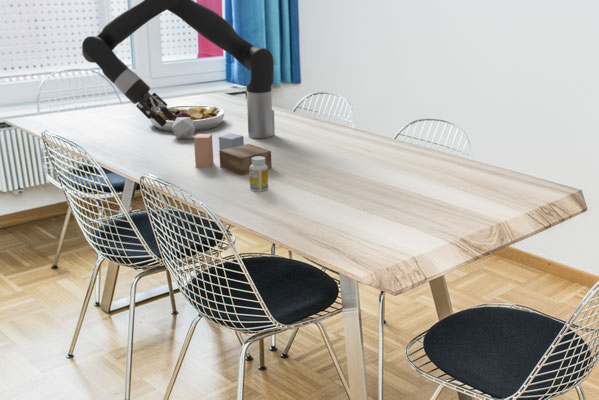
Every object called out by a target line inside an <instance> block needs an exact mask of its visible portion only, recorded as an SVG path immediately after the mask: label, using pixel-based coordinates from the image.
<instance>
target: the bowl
mask: <svg viewBox="0 0 599 400" xmlns="http://www.w3.org/2000/svg"><path fill="white" fill-rule="evenodd" d="M167 109H168V110H169V111H170V112H172V113H173V114H174V116H175V117H174V118H173V119H172V120H169V119H168V118H167V117H166V116H165V115H164V114H163V113H162V112H160V111H158V110H157V112H158V114H159V115H160V116H161V117H163V118H164V119H165V120H166V122H167V123H166V124H165V125H164V126H161V125H159V124H158V123H157V122H156V121H155V120H154V119H152V118H150V119H149V120H150V123H151V125H153V126H154V127H155V128H157V129H158V130H163V131H168V132H173V130H172V126H173V124H174V122H175V120H176V118H177V117H190V118H191V120H192V122H193V125H194V127H195V131H194V132H197V131H205V130H208V129H212V128H214V127H217V126H218V125H220V124H221V123H222V122H223V120H224V118H225V111H224V109H222V108H220V107H217V106H212V105H201V104H195V105H194V104H193V105H192V104H191V105H189V104H188V105H186V104H185V105H175V106H167ZM158 114H157V115H158Z"/></svg>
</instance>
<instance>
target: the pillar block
mask: <svg viewBox="0 0 599 400" xmlns="http://www.w3.org/2000/svg"><path fill="white" fill-rule="evenodd" d="M193 144H194V145H193V146H194V158H195V159H194V161H195V168H211V167H212V165H214V148H213V145H214V144H213V134H212V133H197V134H196V135H194V136H193Z"/></svg>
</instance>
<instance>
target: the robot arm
mask: <svg viewBox="0 0 599 400" xmlns="http://www.w3.org/2000/svg"><path fill="white" fill-rule="evenodd" d="M165 11H169V12H170V13H172V14H174V15H175V16H177V17H178V18H179V19H181V20H182V21H183V22H184V23H186V24H187V25H188V26H189V27H191V29H193V30H194V31H195V32H197V33H198V34H200V35H201V36H202V37H204V38H205V40H207V41H209V42H210V43H212V44H214V45H215V46H216V47H218V48H220V49H221V50H223V51H225V52H226V53H228V54H230V55H231V56H232V57H233V58H234V59H235V60H236V61H238V63H240V64H241V65H242V66H243V67H244V68H245V69H247V70H248V71H249V72H250V81H248V82H247V84H246V106H247V107H246V109H247V129H248V130H247V133H248V134H247V136H248V137H250V138H252V139H267V138H271V137H273V136H275V135H276V133H275V132H276V129H275V126H276V125H275V110H274V109H273V100H272V86H273V83H274V71H275V70H274V67H275V66H274V56H273V54H272V52H271V51H270V50H269V49H268V48H264V47H262V46H261V47H260V46H256V45H254V44H252V43H251V42H248V40H245V39H244V38H243V37H241V36H240V35H239V34H238V33H237V32H236V30H235V28H233V26H232V25H231V23H229V21H227V20H226V19H225V18H224V17H222V16H221V15H220V14H218V13H217V12H216V11H214V10H212V9H210V8H209V7H206V6H204V5H202V4H200V3H199V2H197V1H194V0H142V1H141V2H139V3H138V4H136V5H133V6H132V7H130V8H129V9H126V10H125V11H123V12H122V13H120V14H119V15H117V16H116V17H115V18H113V19H112V20H111V21H110V22H108V23H107V24H105V26H104V27H103V29H102V31H101V32H99V34H97V35H90V36H87V37H85V38H84V39H83V41H82V45H81V49H82V50H81V53H82V56H83V57H84V59H85V60H86V61H88V62H89V63H91V64H92V63H93V64H94V63H95V64H96V65H97V66H98V67H99V68H100V69H101V71H102V73H103V74H104V76H105V77H106V78H107V79H108V80H109V81H110V82H111V83H113V84H114V85H115V87H116V88H117V89H118V90H119V91H120V92H121V94H122V95H124V96H125V97H126V98H127V99H128V100H129V101H130V102H131V103H132V104H133V105H135V106H136V108H137V109H138V110H139V111H140V112H141V113H142V115H144V116H145V117H146V118H147V119H149V120H150V118H152V119H154V120H155V121H156V122H157V123H158V124H159V125H161V126H164V125H165V124H166V123H167V122H166V120H165V119H164V118H163V117H161V116H160V115H159V114H158V112H157V110H158V111H160V112H162V113H163V114H164V115H165V116H166V117H167V118H168V119H169V120H172V119H173V118H174V117H175V116H174V114H173V113H172V112H170V111H169V110H168V109H167V107H168V104H167V102H165V100H163V98H162V97H160V96H159V95H158V93H156V92H153V93H150V92H149V91H150V90H151V87H150V85H148V84H147V83H146V82H145V81H144V80H143V79H142V78H141V77H140V76H139V75H138V74H137V73H136V72H135V71H133V70H132V69H131V68H129V66H127V65H126V64H125V62H123V61H122V60H121V59H120V58H119V57H117V55H116V54H115V52H114V51H113V50H114V49H115V48H117V46H118V45H120V44H121V43H123V42H124V41H125V40H126V39H127V38H129V37H130V36H131V35H133V34H134V33H135V32H136V31H138V30H139V29H140V28H142V27H143V26H144V25H145V24H147V23H148V22H150V20H153V19H154V18H156V16H158V15H161V14H162V13H163V12H165ZM157 114H158V115H157Z"/></svg>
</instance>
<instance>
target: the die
mask: <svg viewBox="0 0 599 400" xmlns="http://www.w3.org/2000/svg"><path fill="white" fill-rule="evenodd" d="M172 130H173V131H172V132H173V134H174V136H175V138H176V139H177V140H191V139H192V136H193V134H194V132H196V131H195V127H194V125H193V122H192V120H191V118H190V117H177V118H176V120H175V122H174V124H173V126H172Z"/></svg>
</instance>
